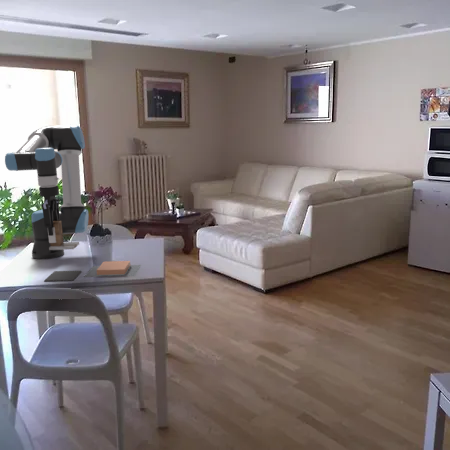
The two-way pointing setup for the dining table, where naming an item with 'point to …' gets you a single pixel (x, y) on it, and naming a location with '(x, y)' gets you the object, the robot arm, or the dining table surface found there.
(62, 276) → the pad
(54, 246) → the float tool
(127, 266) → the tile
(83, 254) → the dining table surface
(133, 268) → the mat
